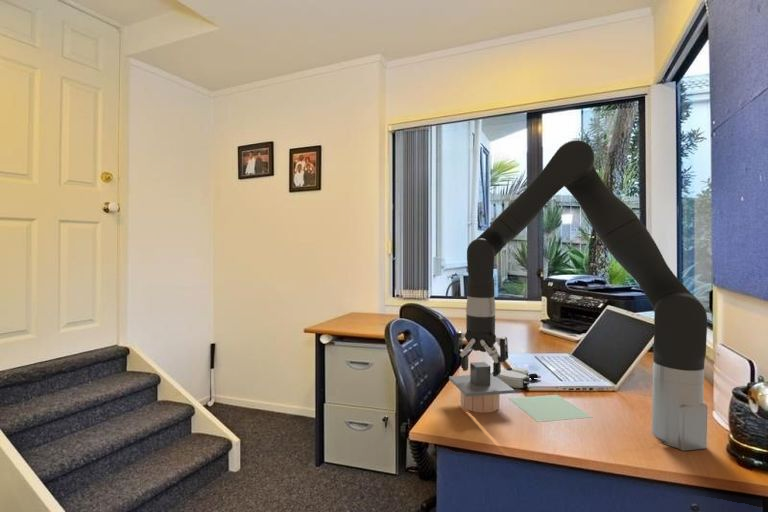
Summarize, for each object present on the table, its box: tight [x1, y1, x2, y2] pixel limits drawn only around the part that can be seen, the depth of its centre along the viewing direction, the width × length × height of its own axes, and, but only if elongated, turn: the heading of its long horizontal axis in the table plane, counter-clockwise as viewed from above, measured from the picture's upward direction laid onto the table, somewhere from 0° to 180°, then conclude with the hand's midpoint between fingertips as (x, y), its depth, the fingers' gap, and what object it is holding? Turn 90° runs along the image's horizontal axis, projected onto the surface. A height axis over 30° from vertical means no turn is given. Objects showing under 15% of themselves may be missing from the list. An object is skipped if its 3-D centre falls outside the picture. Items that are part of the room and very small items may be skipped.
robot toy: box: [490, 367, 542, 389], centre depth 128 cm, size 12×4×15 cm
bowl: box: [460, 391, 501, 414], centre depth 110 cm, size 10×10×6 cm
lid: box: [448, 361, 515, 397], centre depth 110 cm, size 13×13×6 cm
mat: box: [508, 394, 593, 423], centre depth 108 cm, size 15×15×1 cm
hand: (480, 372), depth 110 cm, fingers open, 8 cm apart
